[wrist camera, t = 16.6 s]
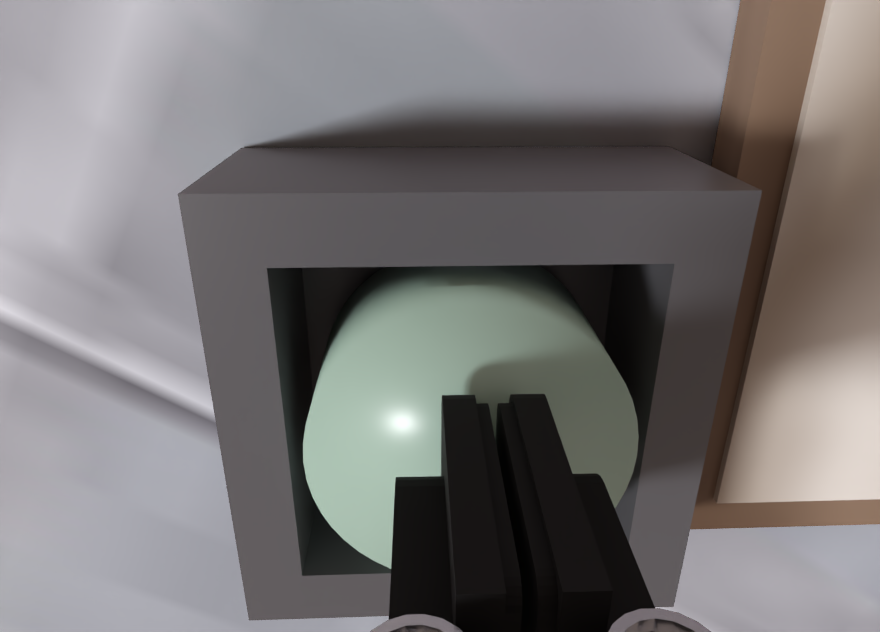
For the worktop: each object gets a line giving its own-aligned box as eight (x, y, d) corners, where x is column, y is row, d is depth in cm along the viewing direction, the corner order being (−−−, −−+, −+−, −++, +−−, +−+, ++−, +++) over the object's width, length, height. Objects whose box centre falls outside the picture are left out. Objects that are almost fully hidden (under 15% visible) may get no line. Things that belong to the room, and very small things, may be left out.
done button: (607, 243, 13) (661, 302, 10) (580, 478, 15) (617, 577, 12) (314, 245, 13) (286, 307, 10) (333, 484, 15) (316, 586, 12)
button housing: (668, 146, 14) (762, 190, 10) (618, 484, 17) (673, 606, 14) (241, 148, 13) (178, 194, 10) (283, 492, 17) (248, 620, 13)
